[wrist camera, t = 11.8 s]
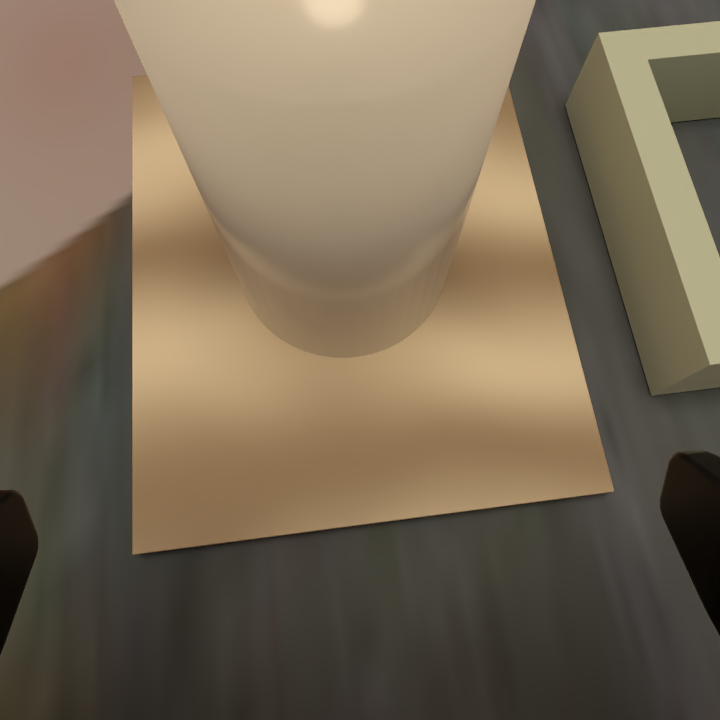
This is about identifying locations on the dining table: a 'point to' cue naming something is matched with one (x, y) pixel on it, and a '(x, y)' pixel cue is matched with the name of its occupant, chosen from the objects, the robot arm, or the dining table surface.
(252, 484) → the serving board
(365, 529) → the dining table surface
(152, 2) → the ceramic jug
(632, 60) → the glass holder
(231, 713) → the dining table surface
